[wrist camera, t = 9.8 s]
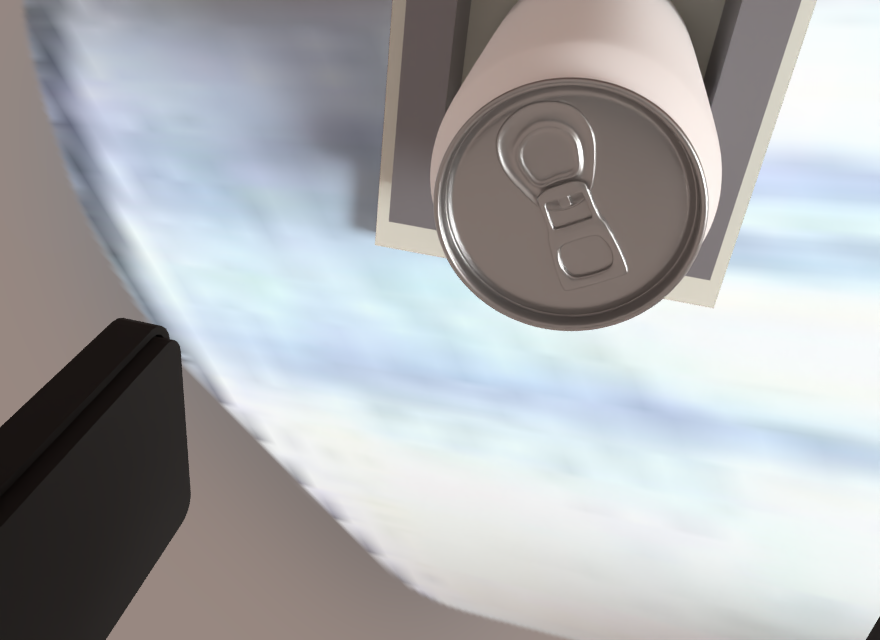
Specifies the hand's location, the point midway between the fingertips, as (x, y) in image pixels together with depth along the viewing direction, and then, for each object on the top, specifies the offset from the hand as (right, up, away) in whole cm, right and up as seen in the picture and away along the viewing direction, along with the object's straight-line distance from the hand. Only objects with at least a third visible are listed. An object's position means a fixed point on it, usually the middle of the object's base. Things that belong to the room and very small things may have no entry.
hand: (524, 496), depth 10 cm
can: (+4, +11, +17) cm, 20 cm away
